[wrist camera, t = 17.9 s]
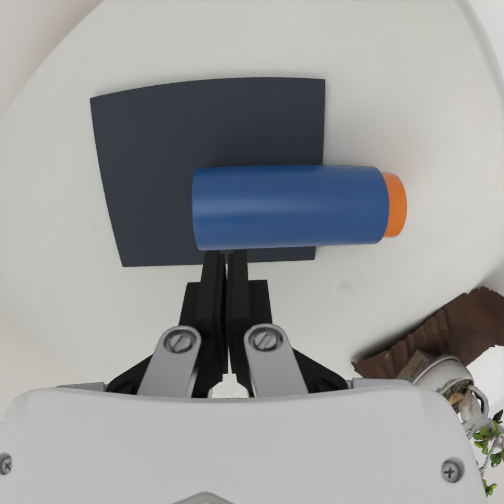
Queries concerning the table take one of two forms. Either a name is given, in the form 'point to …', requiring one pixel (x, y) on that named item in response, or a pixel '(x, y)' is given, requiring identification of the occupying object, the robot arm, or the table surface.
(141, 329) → the table surface
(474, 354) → the potted plant
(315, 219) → the canister
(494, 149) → the table surface
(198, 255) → the mat
